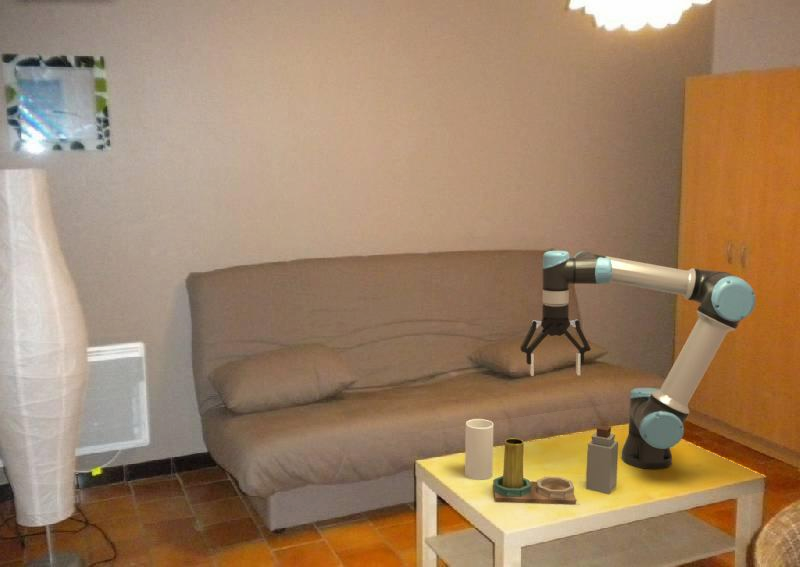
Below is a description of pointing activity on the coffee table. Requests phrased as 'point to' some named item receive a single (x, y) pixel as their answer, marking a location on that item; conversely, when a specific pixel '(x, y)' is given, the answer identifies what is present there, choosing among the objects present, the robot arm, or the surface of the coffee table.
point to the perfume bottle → (602, 461)
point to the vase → (513, 463)
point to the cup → (479, 449)
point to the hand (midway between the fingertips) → (554, 374)
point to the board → (537, 491)
